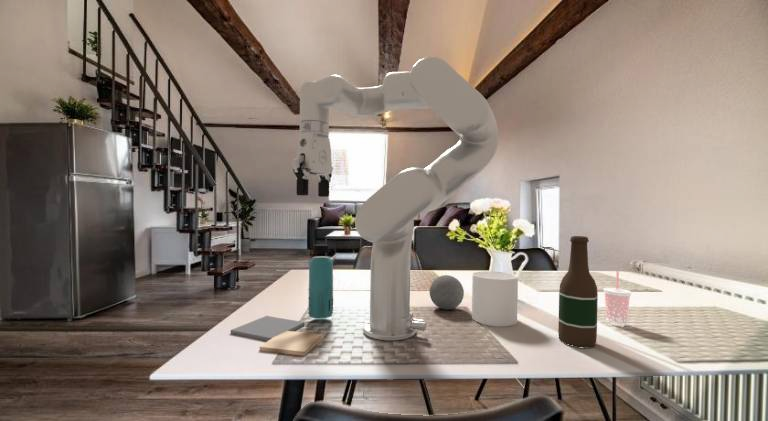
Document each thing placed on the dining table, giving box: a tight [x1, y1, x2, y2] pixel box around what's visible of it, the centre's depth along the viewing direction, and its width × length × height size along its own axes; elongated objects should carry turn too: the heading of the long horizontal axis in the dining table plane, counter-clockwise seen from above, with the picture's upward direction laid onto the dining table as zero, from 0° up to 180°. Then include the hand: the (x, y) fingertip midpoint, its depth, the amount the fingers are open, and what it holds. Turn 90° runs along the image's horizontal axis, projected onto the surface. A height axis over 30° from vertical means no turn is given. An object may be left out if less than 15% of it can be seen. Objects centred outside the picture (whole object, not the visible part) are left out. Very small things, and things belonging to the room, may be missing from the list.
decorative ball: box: [429, 274, 465, 311], centre depth 105 cm, size 10×10×10 cm
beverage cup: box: [603, 270, 632, 325], centre depth 94 cm, size 6×6×14 cm
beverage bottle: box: [307, 243, 334, 319], centre depth 93 cm, size 6×7×20 cm
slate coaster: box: [230, 315, 305, 342], centre depth 86 cm, size 12×12×1 cm
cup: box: [471, 271, 519, 328], centre depth 96 cm, size 12×12×12 cm
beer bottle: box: [558, 235, 599, 348], centre depth 81 cm, size 8×8×24 cm
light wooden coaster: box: [259, 330, 325, 357], centre depth 77 cm, size 10×10×1 cm
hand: (313, 195), depth 94 cm, fingers open, 9 cm apart
